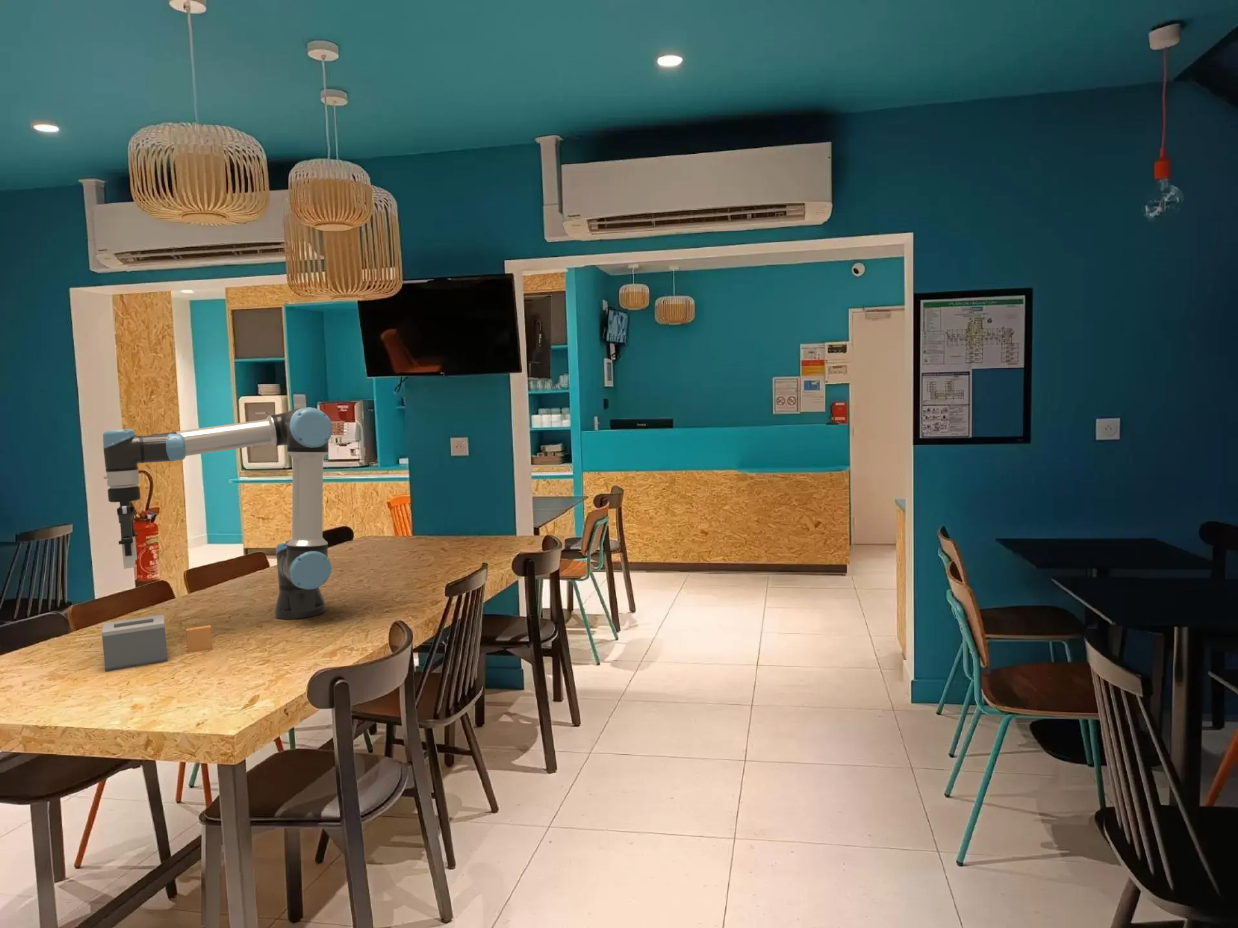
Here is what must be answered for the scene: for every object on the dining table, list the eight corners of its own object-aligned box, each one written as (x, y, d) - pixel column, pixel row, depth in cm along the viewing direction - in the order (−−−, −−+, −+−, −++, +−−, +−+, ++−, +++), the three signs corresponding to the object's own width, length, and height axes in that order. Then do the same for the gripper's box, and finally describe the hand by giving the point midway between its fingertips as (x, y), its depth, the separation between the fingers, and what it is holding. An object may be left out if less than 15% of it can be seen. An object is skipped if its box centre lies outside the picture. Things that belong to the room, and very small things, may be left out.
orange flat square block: (212, 646, 234) (210, 624, 233) (212, 648, 232) (211, 626, 231) (187, 650, 231) (185, 628, 231) (188, 652, 229) (186, 630, 228)
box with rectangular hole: (166, 650, 232) (163, 614, 231) (167, 660, 221) (164, 623, 221) (107, 659, 225) (103, 622, 224) (105, 671, 215) (101, 632, 214)
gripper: (109, 484, 239) (117, 559, 240) (104, 491, 217) (112, 573, 218) (140, 482, 242) (147, 555, 244) (138, 488, 220) (145, 569, 222)
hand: (130, 564), depth 231 cm, fingers open, 13 cm apart
